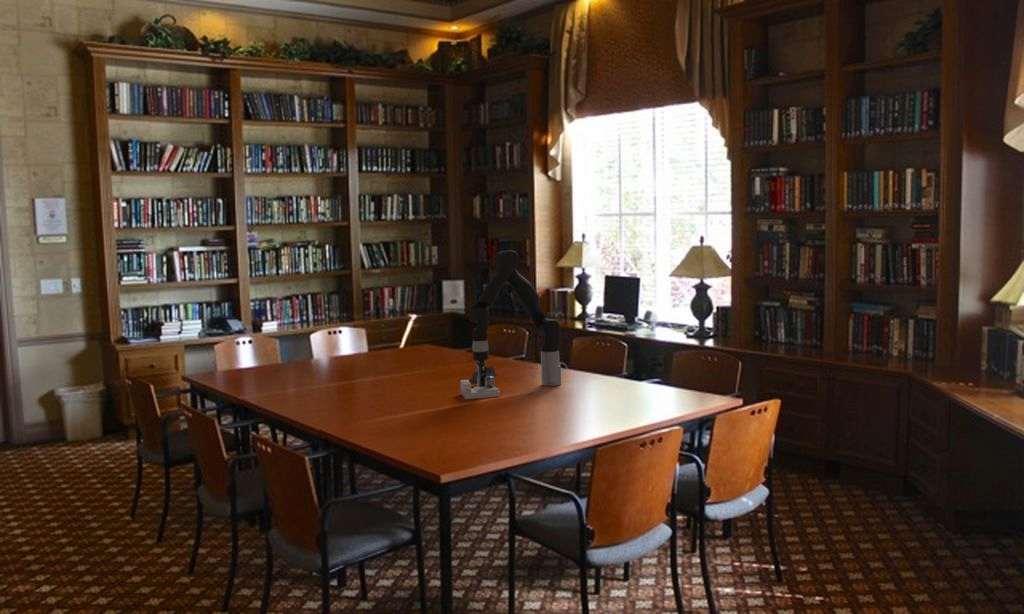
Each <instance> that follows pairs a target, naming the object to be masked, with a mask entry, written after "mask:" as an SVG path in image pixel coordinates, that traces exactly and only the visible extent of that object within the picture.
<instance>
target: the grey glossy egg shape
mask: <svg viewBox="0 0 1024 614" xmlns="http://www.w3.org/2000/svg"><path fill="white" fill-rule="evenodd" d="M495 385H496V384H495V379H494V376H486V388H493V387H496V386H495Z"/></svg>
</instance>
